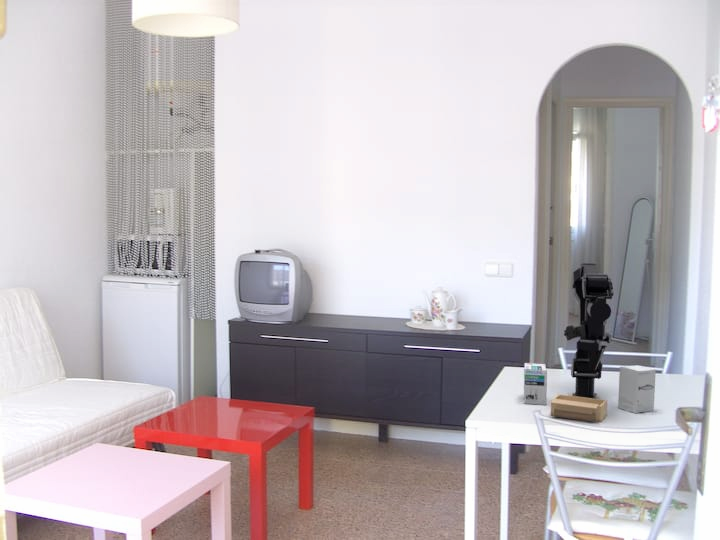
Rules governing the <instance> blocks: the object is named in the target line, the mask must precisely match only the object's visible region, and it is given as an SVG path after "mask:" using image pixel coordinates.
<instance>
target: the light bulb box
mask: <svg viewBox="0 0 720 540" xmlns="http://www.w3.org/2000/svg"><path fill="white" fill-rule="evenodd" d="M523 368H524V369H523V373H524V374H523V400H524V401H523V402H524V404H527V405H542V406H546V405H547V390H548V389H547V385H548V384H547V383H548V380H547V379H548V370H547V365H546V363H533V362H524V367H523Z"/></svg>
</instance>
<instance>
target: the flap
mask: <svg viewBox="0 0 720 540" xmlns="http://www.w3.org/2000/svg"><path fill="white" fill-rule="evenodd" d="M551 399H552V401H551V400H550V404H551V403H552V404H556V409H554V416H553V417H556V418H562V419H570V420H578V421H585V422H591V423H592V422H593V423H595V414H593V409H597V407H598V404H593V403H585V402H577V401H569V400H561V399H553V398H551Z"/></svg>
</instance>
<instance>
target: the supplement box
mask: <svg viewBox="0 0 720 540" xmlns="http://www.w3.org/2000/svg"><path fill="white" fill-rule="evenodd" d="M656 371H657V369H656V368H652V367H647V366H643V365H637V364H636V365H625V366H623V365H622V366H620V367H619V376H618V378H619V379H618V397H617V398H618V400H617V401H618V402H617V408H619V409H621V410H624V411H627V412H630V413H633V414H638V413H647V412H654V411H655V395H656V394H655V393H656Z"/></svg>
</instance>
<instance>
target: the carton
mask: <svg viewBox="0 0 720 540" xmlns="http://www.w3.org/2000/svg"><path fill="white" fill-rule="evenodd" d="M552 399H561V400H569V401H577V402H585V403H593V404H598V407H597V409H593V414H595V422H596V423H602V421H604V419H605V418H606V417H607V414H608V400H606V399H601V398H600V399H599V398H595V397H594V398H586V397H578V396H572V395H569V394H568V395H567V394H560V393H559V394H556V395H555V396H554V397H553V398H551V399H550V415H549V416H550V417H551V416H553V417H555V416H554V409H556V404H552V403H551V401H552ZM595 422H594V423H595Z"/></svg>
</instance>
